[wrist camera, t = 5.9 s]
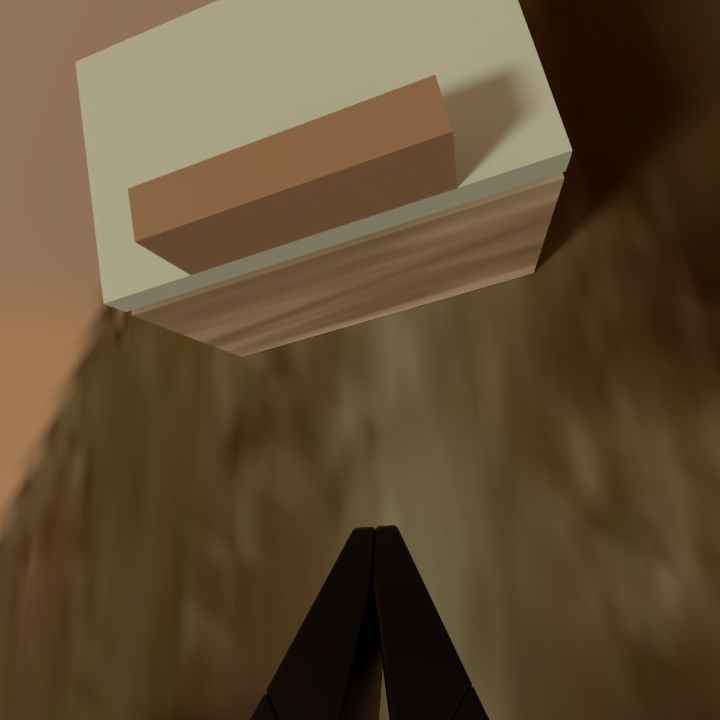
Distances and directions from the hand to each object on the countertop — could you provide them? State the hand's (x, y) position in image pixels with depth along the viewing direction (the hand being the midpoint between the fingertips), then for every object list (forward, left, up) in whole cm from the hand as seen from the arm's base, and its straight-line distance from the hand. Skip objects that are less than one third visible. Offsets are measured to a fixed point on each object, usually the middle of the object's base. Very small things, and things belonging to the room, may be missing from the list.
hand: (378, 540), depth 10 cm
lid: (+13, 0, -4) cm, 13 cm away
